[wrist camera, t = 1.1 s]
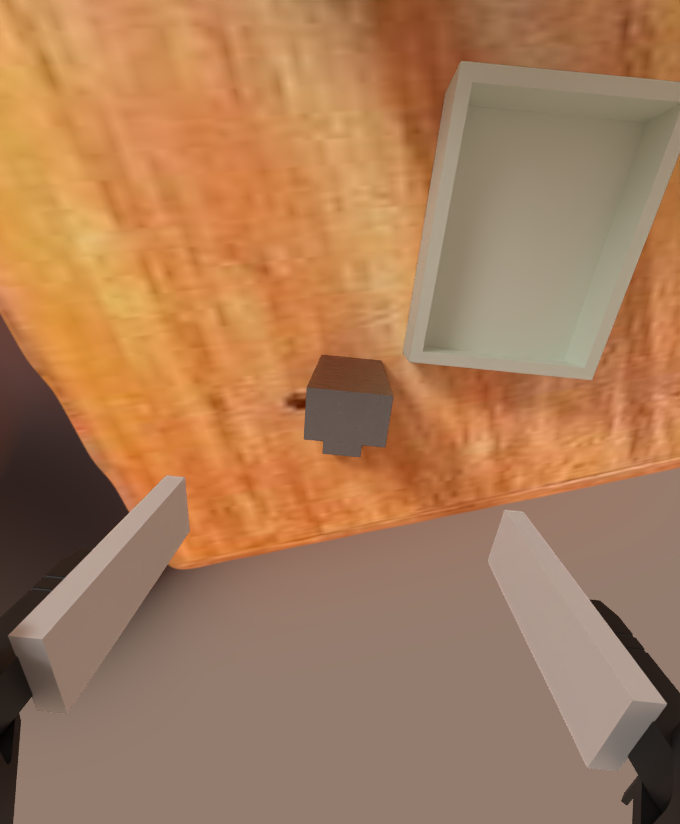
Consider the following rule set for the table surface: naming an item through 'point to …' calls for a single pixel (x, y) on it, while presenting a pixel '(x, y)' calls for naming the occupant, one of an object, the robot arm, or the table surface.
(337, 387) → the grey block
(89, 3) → the table surface
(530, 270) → the tray
